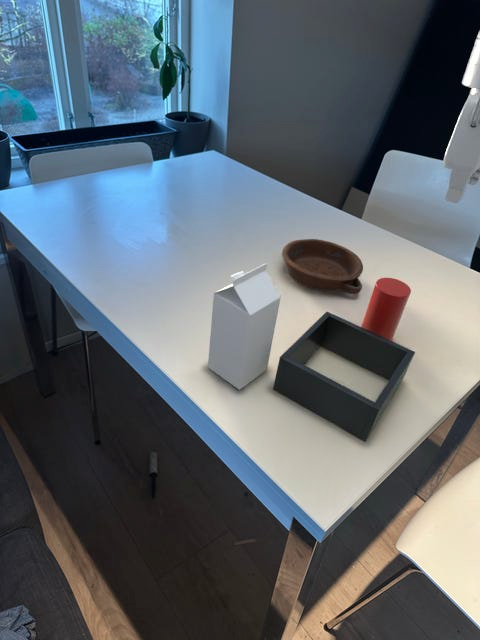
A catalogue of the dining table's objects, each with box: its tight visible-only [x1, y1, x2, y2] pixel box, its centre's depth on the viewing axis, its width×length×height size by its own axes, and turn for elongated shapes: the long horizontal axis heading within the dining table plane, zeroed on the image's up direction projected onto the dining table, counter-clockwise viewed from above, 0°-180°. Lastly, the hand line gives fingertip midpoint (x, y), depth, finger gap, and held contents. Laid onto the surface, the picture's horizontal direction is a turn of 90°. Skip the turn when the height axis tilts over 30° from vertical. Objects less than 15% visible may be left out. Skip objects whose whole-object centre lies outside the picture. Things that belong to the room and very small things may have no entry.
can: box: [360, 277, 412, 341], centre depth 81 cm, size 6×6×12 cm
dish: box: [281, 238, 364, 295], centre depth 100 cm, size 18×22×5 cm
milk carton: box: [207, 262, 282, 391], centre depth 69 cm, size 7×7×19 cm
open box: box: [272, 311, 416, 443], centre depth 72 cm, size 16×16×7 cm
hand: (461, 191), depth 59 cm, fingers open, 8 cm apart
